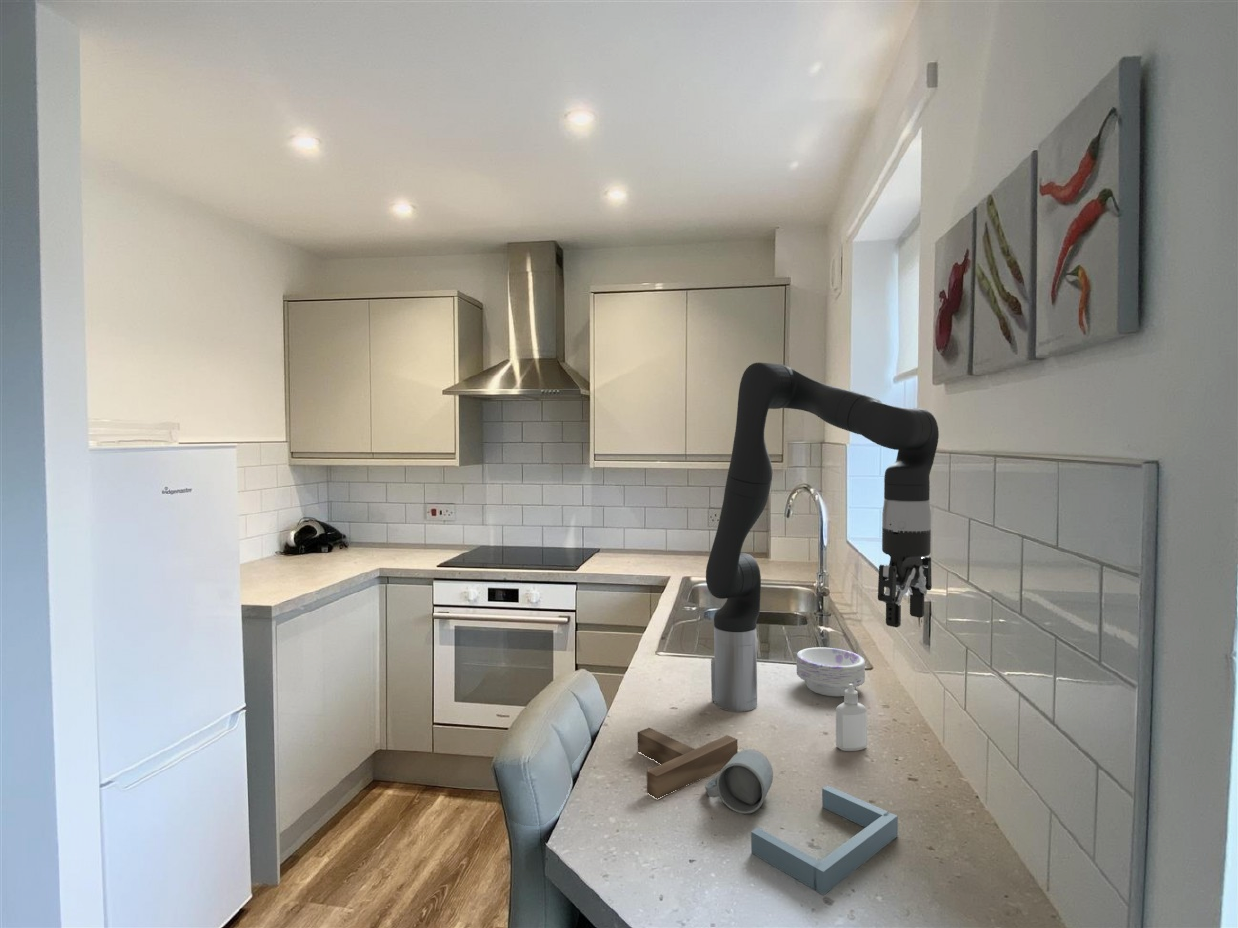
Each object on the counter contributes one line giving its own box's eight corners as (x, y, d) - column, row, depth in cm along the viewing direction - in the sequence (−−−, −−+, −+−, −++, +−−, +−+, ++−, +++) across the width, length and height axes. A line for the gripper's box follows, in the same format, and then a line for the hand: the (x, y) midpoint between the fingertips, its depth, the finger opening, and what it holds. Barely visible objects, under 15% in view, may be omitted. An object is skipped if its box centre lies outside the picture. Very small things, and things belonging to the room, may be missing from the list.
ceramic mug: (776, 793, 107) (774, 746, 107) (764, 819, 100) (763, 769, 100) (713, 781, 112) (712, 736, 112) (698, 805, 104) (697, 757, 104)
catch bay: (751, 852, 92) (751, 831, 92) (827, 803, 104) (827, 785, 104) (823, 894, 83) (823, 871, 83) (897, 835, 95) (897, 815, 95)
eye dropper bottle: (868, 754, 120) (868, 689, 120) (836, 750, 122) (835, 687, 121) (866, 743, 124) (865, 681, 124) (835, 740, 126) (834, 678, 126)
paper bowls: (872, 685, 154) (871, 652, 154) (855, 707, 142) (855, 670, 142) (808, 673, 163) (807, 642, 163) (787, 693, 150) (787, 659, 150)
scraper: (602, 767, 117) (601, 745, 117) (681, 734, 130) (680, 715, 130) (657, 800, 106) (656, 776, 106) (737, 760, 119) (737, 739, 118)
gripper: (904, 520, 118) (903, 609, 118) (863, 528, 108) (863, 624, 109) (947, 524, 112) (946, 618, 113) (908, 532, 103) (907, 634, 103)
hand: (905, 621), depth 111 cm, fingers open, 8 cm apart
